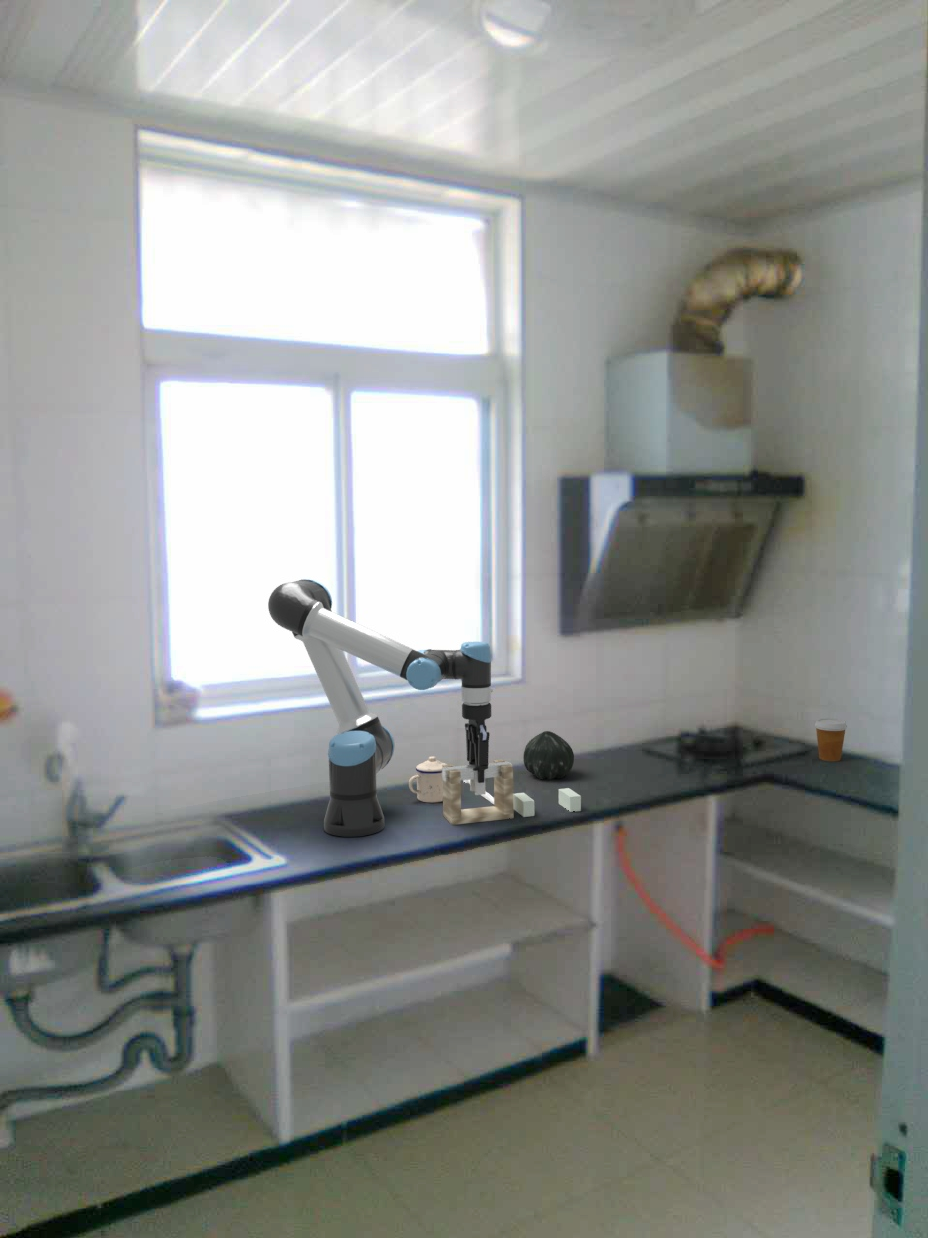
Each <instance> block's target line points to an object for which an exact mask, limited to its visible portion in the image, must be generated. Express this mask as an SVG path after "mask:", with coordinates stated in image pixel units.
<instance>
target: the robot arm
mask: <svg viewBox="0 0 928 1238" xmlns="http://www.w3.org/2000/svg"><path fill="white" fill-rule="evenodd" d="M267 604H268V605H267V606H268V607H267V609H268V612H269V615H270V617H271V618H272V620H273V622H274V623H275V624H277V625H278V626H279V627H281V628H283V629H285V630H287V631H289V632H292V635H293V637H294V639H296V640H299V641H301V642H302V643H303V645H304V648H305V650H306V652H307V654H308V657H309V660H310V661H311V664H312V666H313V668H314V671H315V673H316V675H317V677H318V679H319V682H320V683H321V687H322V689H323V691H324V693H325V695H326V697H327V700H328V702H329V705H330V707H331V709H332V711H333V713H334V716H335V719H336V721H337V722H338V728H337V731H336V734H335V735H334V736H333V737H332V738H331V739H330V740H329V743H328V750H327V751H328V753H327V756H328V774H329V801H328V804H327V809H326V812H325V815H324V818H323V829H324V832H326V833H327V834H329V835H331V836H332V835H333V836H337V837H346V838H347V837H348V838H351V837H353V838H354V837H363V836H364V837H365V836H368V835H373V834H376V833H379V832H381V831H383V830H384V828H385V816H384V814H383V810H382V807H381V805H380V802H379V799H378V796H377V794H378V793H377V792H378V790H377V774H378V773H379V772H380V771H381V770H383V769H384V768H385V767H386V766H388V764H389V763H390V761H391V759H392V758H393V756H394V752H395V749H396V747H395V740H394V737H393V735H392V733H391V732H390V730H389V729H388V728H387V727H385V726H383V725H382V723H381V721H380V718H379V716H378V715H377V714H375V713H373V712H371V711H370V710H369V708H368V706H367V704H366V700H365V699H364V697H363V695H362V691H361V689H360V687H359V684H358V683H357V680H356V678H355V676H354V673H353V671H352V669H351V666H350V664H349V661H348V660H347V658H346V655H345V653H348V654H349V655H352V656H354V657H356V658H358V659H360V660H362V661H365V662H367V663H369V664H371V665H374V666H376V667H377V668H380V669H382V670H384V671H386V672H388V673H391V674H393V675H396V676H397V677H399V678H402V679H403V680H406V681H407V682H408V684H409V685H410V686H411V687H412V688H413V689H415V690H418V691H425V690H429V689H432V688H434V687H435V686H436V685H437V684H438V683H439V682H441V681H442V680H460V681H461V702H462V704H461V717H462V718H463V719H464V720H468V722H466V723H464V727H465V728H464V729H465V742H466V744H465V745H466V747H465V748H466V761H467V762H468V765H475V766H476V768H473V771H474V779H471V780H470V784H469V791H470V792H474V795H475V796H481V795H483V794H486V792H487V791H486V778H485V770H486V769H488V763H489V748H490V747H489V746H490V745H489V742H490V734H491V733H490V731H488V730H487V729H488V728H487V724H486V720H488V719H490V718H491V717H492V703H491V701H492V693H493V692H494V689H493V688H492V686H491V685H492V659H491V658H492V657H491V645H489V643H487V642H484V641H465V642H463V643H461V645H460V649H453V650H452V649H450V650H449V649H432V648H428V649H419V650H416V649H414V648H412V647H409V646H407V645H405V644H402V643H400V642H398V641H396V640H395V639H392V638H389V637H388V636H386V635H383V634H381V633H379V632H377V631H375V630H372V629H370V628H368V627H366V626H363V625H361V624H359V623H357V622H355V621H352V620H350V619H348V618H347V617H344V616H342V615H339V614H337V613H336V612H333V611H332V606H333V600H332V595H331V593H330V591H329V589H328V588H327V587H326V586H325V585H324V584H322V583H321V582H320V581H318V580H314V579H310V578H309V579H307V578H306V579H305V578H303V579H302V578H301V579H300V580H295V581H289V582H285V583H282V584H280V585H278V586H276V588H275V589H274V590H272V592H271V593H270V596H269V598H268V603H267ZM344 652H345V653H344ZM485 791H486V792H485Z"/></svg>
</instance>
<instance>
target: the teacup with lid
mask: <svg viewBox="0 0 928 1238" xmlns="http://www.w3.org/2000/svg"><path fill="white" fill-rule="evenodd" d="M442 765H448V764H447V763H445V762H441V761H440V760H437V757H436V756H429V757H428V759H427V760H425V761H424V762H422V763H419V764H417V765H416V767H415V770H416V774H415V775H412V776H411V777H410V779H409V780H408V787H409V788H408V789H409V790H410V791H411V792H412V793H413V794H416V796H417V797H416V798H417V800H418V801H420V802H423V803H440V802H443V779H442ZM415 779H416V790H415V789H414V786H413V782H414V781H415Z"/></svg>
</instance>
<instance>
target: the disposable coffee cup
mask: <svg viewBox="0 0 928 1238" xmlns="http://www.w3.org/2000/svg"><path fill="white" fill-rule="evenodd" d="M814 726H815V730H816V739H817V751H818V759H819V760H821V761H825V762H839V761H841V759H842V753H843V747H844V740H845V734H846V730H847V728H848V725H847V723H846V721H845V720H843V719H838V718H818V719H816V720H815V723H814Z"/></svg>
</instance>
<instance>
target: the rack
mask: <svg viewBox="0 0 928 1238" xmlns="http://www.w3.org/2000/svg"><path fill="white" fill-rule="evenodd" d="M497 762H506V761H505V760H504V759H494V760H493V763H497ZM453 766H454V765H453V764H452V763H450V764H449V763H448V764H447V765H442V767H453ZM461 782H462V780H461V772H460V771H459V770H449V782H445V781H444V780H443V801H442V815H443V817H444V818H445V820H447V821H448V823H449V824H450V825H452V826H455V825H463V824H473V823H479V822H482V823H483V822H491V821H499V820H501V821H502V820H507V819H508V820H510V819H514V809H513V794H514V765H512V766H511V765H504V766H501V777H493V797H494V804H493V805H492V806H481V807H474V808H473V807H472V808H463V809H462V783H461ZM509 818H510V819H509Z"/></svg>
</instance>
